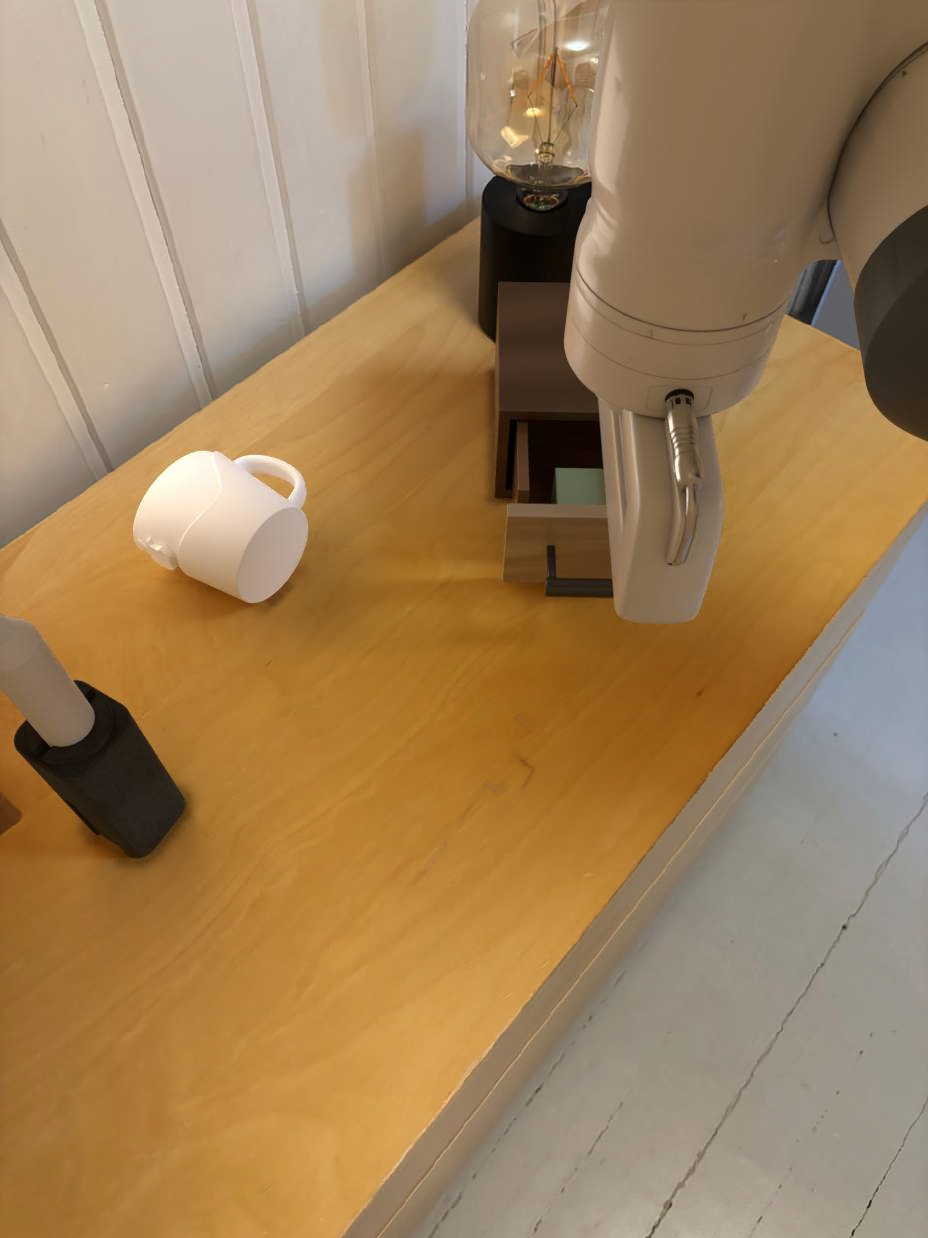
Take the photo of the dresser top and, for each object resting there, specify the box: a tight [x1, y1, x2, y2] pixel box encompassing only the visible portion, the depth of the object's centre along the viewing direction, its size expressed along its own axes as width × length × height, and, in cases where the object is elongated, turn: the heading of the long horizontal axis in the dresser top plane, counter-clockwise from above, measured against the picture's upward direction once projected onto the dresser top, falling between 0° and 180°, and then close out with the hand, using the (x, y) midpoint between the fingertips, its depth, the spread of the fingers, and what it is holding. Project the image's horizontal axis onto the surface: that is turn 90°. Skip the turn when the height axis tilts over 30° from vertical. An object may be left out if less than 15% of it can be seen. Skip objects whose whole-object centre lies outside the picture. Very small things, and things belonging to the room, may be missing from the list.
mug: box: [132, 450, 309, 604], centre depth 71 cm, size 12×9×8 cm
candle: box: [0, 613, 186, 859], centre depth 52 cm, size 5×5×25 cm
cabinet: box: [493, 281, 600, 499], centre depth 77 cm, size 15×13×10 cm
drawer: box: [502, 420, 614, 600], centre depth 70 cm, size 18×12×8 cm, turn 179°
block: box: [551, 468, 606, 505], centre depth 71 cm, size 4×4×4 cm
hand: (622, 522), depth 51 cm, fingers open, 8 cm apart
